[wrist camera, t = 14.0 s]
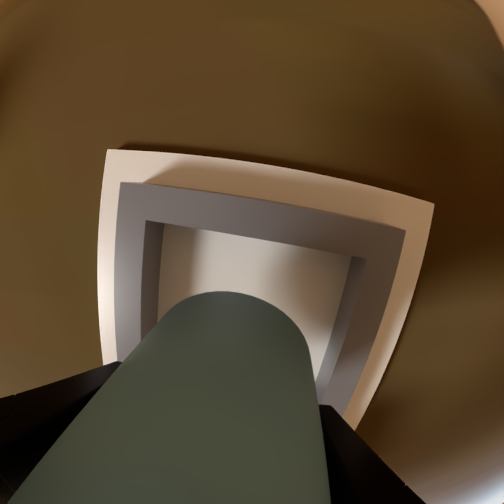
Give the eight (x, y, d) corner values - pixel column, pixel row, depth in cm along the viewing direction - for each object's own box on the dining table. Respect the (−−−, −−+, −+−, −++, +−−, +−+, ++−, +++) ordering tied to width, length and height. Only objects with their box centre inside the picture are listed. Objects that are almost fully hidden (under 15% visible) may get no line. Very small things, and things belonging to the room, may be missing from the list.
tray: (301, 504, 16) (301, 527, 13) (129, 470, 16) (119, 489, 14) (427, 203, 11) (457, 207, 8) (114, 150, 11) (83, 145, 9)
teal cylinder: (289, 430, 9) (285, 609, 2) (153, 402, 9) (68, 554, 2) (330, 308, 8) (416, 572, 1) (154, 275, 8) (-50, 437, 1)
